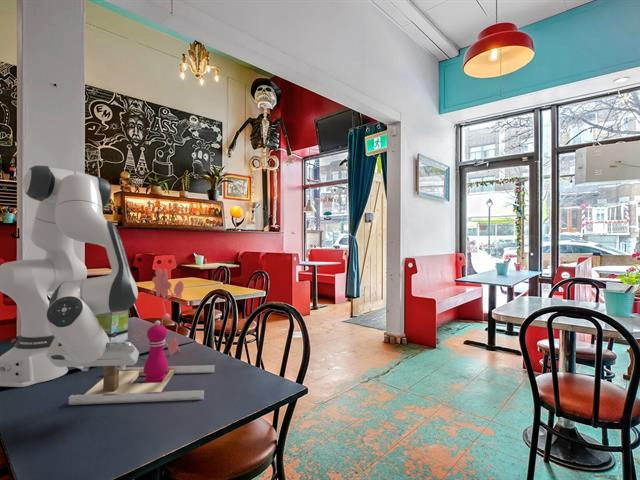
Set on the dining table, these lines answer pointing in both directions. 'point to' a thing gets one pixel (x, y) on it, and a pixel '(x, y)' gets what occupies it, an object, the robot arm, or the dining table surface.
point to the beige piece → (126, 382)
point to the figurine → (161, 288)
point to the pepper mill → (156, 354)
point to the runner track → (146, 395)
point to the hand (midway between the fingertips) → (104, 368)
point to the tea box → (114, 325)
